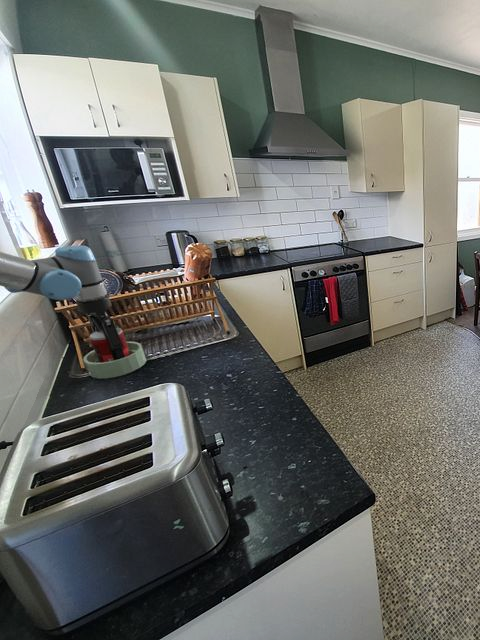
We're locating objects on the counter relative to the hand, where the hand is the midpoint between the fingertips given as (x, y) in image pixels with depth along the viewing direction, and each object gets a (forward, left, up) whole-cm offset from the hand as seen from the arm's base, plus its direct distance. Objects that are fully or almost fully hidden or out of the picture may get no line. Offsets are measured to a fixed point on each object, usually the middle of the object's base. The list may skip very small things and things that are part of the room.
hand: (116, 361), depth 115 cm
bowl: (0, 0, -2) cm, 2 cm away
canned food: (0, 0, 0) cm, 0 cm away
